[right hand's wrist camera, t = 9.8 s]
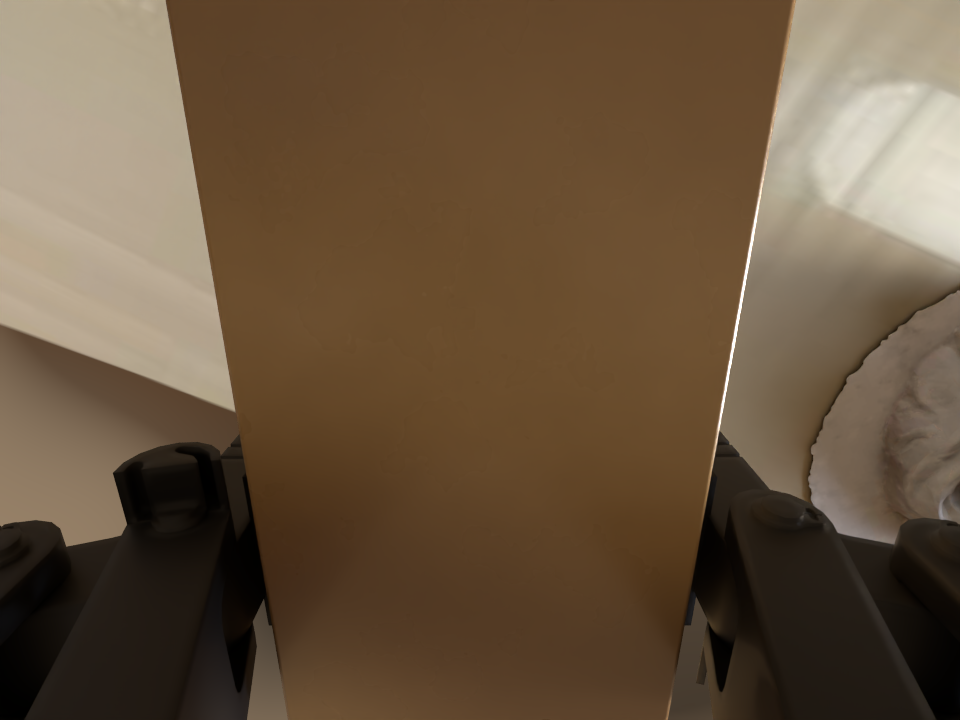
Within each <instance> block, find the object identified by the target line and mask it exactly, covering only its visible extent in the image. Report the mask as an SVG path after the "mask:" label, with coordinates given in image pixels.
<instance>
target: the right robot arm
mask: <svg viewBox="0 0 960 720" xmlns="http://www.w3.org/2000/svg"><path fill="white" fill-rule="evenodd" d="M113 475H114V478H115V482H116V486H117V489H118V493H119V497H120V500H121V504H122V507H123V511H124V514H125V518H126V522H127V526H126V528H125V530H124V531H123V534H122V535H121V536H118V537H114V538H109V539H104V540H99V541H94V542H89V543H84V544H78V545H73V546H68V547H66V545H65V542H64V539H63V536H62V533H61V530H60V528H59V527H57V526H56V525H55V524H53V523H52V522H45V521H38V520H34V521H26V522H15V523H10V524H5V525H3V526H2V527H1V526H0V720H247V714H248V707H249V700H250V692H251V685H252V677H253V670H254V663H255V655H256V648H257V645H256V638H255V631H254V626H253V620H254V618H255V615H256V614H257V611H258V609H259V607H260V605H261V603H262V601H263V599H264V601H265V607H266V612H267V618H268V623H269V625H272V622H271V616H270V610H269V604H268V598H267V592H266V587H265V581H264V575H263V569H262V563H261V557H260V551H259V545H258V540H257V534H256V528H255V522H254V516H253V510H252V504H251V498H250V493H249V487H248V481H247V475H246V469H245V463H244V457H243V451H242V446H241V440H240V434H239V435H238V436H237V437H236V439H235V440H234V441H233V442H232V443H231V447H228V448H227V449H226V450H225V452H224V453H223V454H222V455H221V456H220V451H219V450H218V449H216V448H215V447H214V446H212V445H209V444H204V443H199V442H187V443H175V444H170V445H165V446H160V447H157V448H154V449H151V450H148V451H146V452H143V453H140V454H138V455H136V456H135V457H133V458H131V459H129V460H127V461H126V462H124V463H123V464H122V465H121V466H120V467H119V468H118V469H117V470H116V471H114V472H113ZM696 597H697V599H698V601H699V603H700V605H701V607H702V609H703V611H704V613H705V615H706V617H707V620H708V621H707V626H706V631H705V637H704V642H703V647H702V652H701V657H700V663H699V668H698V674H697V681H696V683H698V684H703V685H704V682H705V677H706V673H707V676H708V683H709V691H710V698H711V706H712V713H713V720H960V524H958V523H957V522H954V521H950V520H941V519H932V518H917V519H910V520H908V521H906V522H905V523H904V524H902V525H901V526H900V528H899V531H898V534H897V537H896V540H895V543H894V544H890V543H885V542H880V541H874V540H869V539H864V538H859V537H854V536H849V535H845V534H841V533H838V532H837V530H836V529H835V527H834V525H833V523H832V522H831V521H830V520H829V518H828V517H827V516H826V515H825V514H824V513H823V512H822V511H821V510H819V509H818V508H816V507H815V506H813V505H812V504H810V503H809V502H807V501H804V500H802V499H799V498H797V497H795V496H792V495H790V494H786V493H781V492H777V491H773V490H770V489H769V488H768V487H767V486H766V484H765V483H764V482H763V481H762V480H761V479H760V477H759V476H758V475H757V474H756V473H755V472H754V470H753V469H752V468H751V467H750V466H749V465H748V463H747V462H746V461H745V460H744V459H743V458H742V457H740V456H739V453H738V452H737V451H736V449H735V448H734V447H733V446H732V445H729V441H728V440H727V439H726V438H725V437H724V435H723V434H722V433H721V432H720V431H719V434H718V440H717V445H716V451H715V457H714V462H713V468H712V473H711V479H710V485H709V490H708V496H707V501H706V507H705V513H704V518H703V524H702V530H701V535H700V541H699V546H698V552H697V558H696V563H695V569H694V574H693V580H692V586H691V591H690V597H689V602H688V608H687V614H686V619H685V625H691V621H692V616H693V610H694V605H695V599H696Z"/></svg>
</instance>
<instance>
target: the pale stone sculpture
mask: <svg viewBox="0 0 960 720" xmlns="http://www.w3.org/2000/svg"><path fill="white" fill-rule="evenodd" d="M863 363H864V364H863V365H862V367H861V368H860V369H859V370H858V371H857V372H856V373H853V374H851V375H850V376H849V377H848V378H847V379H846V381H847V385H845V386H844V390H843V391H842V392H841V393H840V394H839V396H838V397H837V399H836V401H835V404H834V405H833V406H832V407H831V412H829V413H828V415H827V416H825V418H824V421H823V430H821V431H820V432H819V436H818V437H817V443H815V444H814V445H812V447H811V454H813V455H814V456H813V463H812V466H811V470H810V474H811V475H810V476H809V477H808V482H809V483H810V485H809V488H811V491H812V496H811V501H812V502H813V504H814V506H815V507H816V508H818V509H819V510H821V511H822V512H823V513H824V514H825V515H826V516H827V517H828V518H829V520H830V521H831V522H832V523H833V525H834V527H835V529H836V530H837V532H838V533H841V534H845V535H849V536H854V537H859V538H864V539H869V540H874V541H880V542H885V543H890V544H894V543H895V540H896V537H897V534H898V531H899V528H900V526H901V525H902V524H904V523H905V522H906V521H908V520H910V519H917V518H932V519H941V520H950V521H954V522H957V523H958V524H960V290H958V291H957V292H956V293H955V294H953V293H952V294H950V295H948V296H947V297H946V298H945V299H944V300H942V301H940V302H938V303H937V304H935V305H933V306H930V307H928V308H926V309H924V310H919V311H917V312H916V313H915V315H914V316H913V317H912V318H911V319H910V320H909V321H908V322H907V323H906V324H904V325H901V326H899V327H898V329H897V331H896V332H894V333H892V334H890V335H889V336H888V339H887V340H882V341H881V345H880V346H879V347H878V348H877V349H875V350H874V351H873V352H871V353H870V354H869V355H868V356H867V357H866V358H865V360H864V361H863Z"/></svg>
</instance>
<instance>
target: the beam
mask: <svg viewBox="0 0 960 720" xmlns="http://www.w3.org/2000/svg"><path fill="white" fill-rule="evenodd" d="M795 2H796V0H166V5H167V11H168V17H169V23H170V28H171V34H172V40H173V46H174V52H175V58H176V64H177V70H178V75H179V81H180V87H181V93H182V99H183V105H184V111H185V117H186V122H187V128H188V134H189V140H190V146H191V152H192V158H193V164H194V169H195V175H196V181H197V187H198V193H199V199H200V205H201V211H202V216H203V222H204V228H205V234H206V240H207V246H208V252H209V258H210V263H211V269H212V275H213V281H214V287H215V293H216V299H217V305H218V310H219V316H220V322H221V328H222V334H223V340H224V346H225V352H226V357H227V363H228V369H229V375H230V381H231V387H232V393H233V399H234V404H235V410H236V416H237V422H238V428H239V434H240V440H241V446H242V451H243V457H244V463H245V469H246V475H247V481H248V487H249V493H250V498H251V504H252V510H253V516H254V522H255V528H256V534H257V540H258V545H259V551H260V557H261V563H262V569H263V575H264V581H265V587H266V592H267V598H268V604H269V610H270V616H271V622H272V628H273V633H274V639H275V645H276V651H277V657H278V663H279V669H280V674H281V681H282V686H283V692H284V698H285V704H286V710H287V716H288V720H668V714H669V709H670V703H671V698H672V692H673V687H674V681H675V675H676V670H677V664H678V658H679V653H680V647H681V642H682V636H683V630H684V625H685V619H686V614H687V608H688V602H689V597H690V591H691V586H692V580H693V574H694V569H695V563H696V558H697V552H698V546H699V541H700V535H701V530H702V524H703V518H704V513H705V507H706V501H707V496H708V490H709V485H710V479H711V473H712V468H713V462H714V457H715V451H716V445H717V440H718V434H719V429H720V423H721V417H722V412H723V406H724V401H725V395H726V389H727V384H728V378H729V372H730V367H731V361H732V356H733V350H734V344H735V339H736V333H737V328H738V322H739V316H740V311H741V305H742V300H743V294H744V288H745V283H746V277H747V272H748V266H749V260H750V255H751V249H752V243H753V238H754V232H755V227H756V221H757V215H758V210H759V204H760V199H761V193H762V187H763V182H764V176H765V171H766V165H767V159H768V154H769V148H770V143H771V137H772V131H773V126H774V120H775V115H776V109H777V103H778V98H779V92H780V86H781V81H782V75H783V70H784V64H785V58H786V53H787V47H788V42H789V36H790V30H791V25H792V19H793V14H794V8H795Z"/></svg>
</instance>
